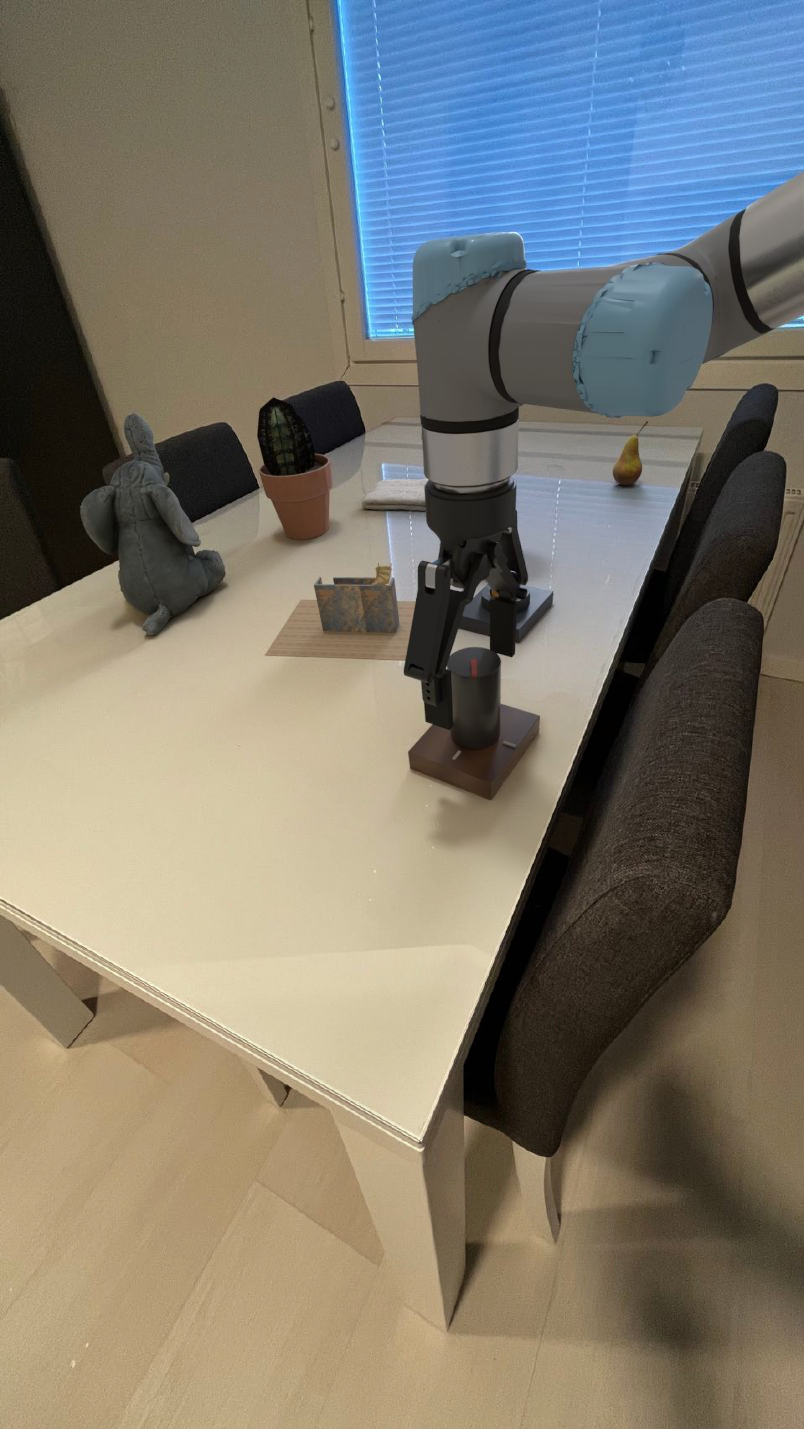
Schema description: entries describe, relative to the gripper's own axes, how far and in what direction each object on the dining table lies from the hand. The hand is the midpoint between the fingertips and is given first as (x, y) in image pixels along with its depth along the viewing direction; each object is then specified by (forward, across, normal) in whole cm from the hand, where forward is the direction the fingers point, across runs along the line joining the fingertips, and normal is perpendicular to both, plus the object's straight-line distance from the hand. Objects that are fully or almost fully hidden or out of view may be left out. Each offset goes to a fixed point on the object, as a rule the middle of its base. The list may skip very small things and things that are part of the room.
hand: (472, 686), depth 62 cm
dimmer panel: (+9, 0, 0) cm, 9 cm away
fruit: (+9, -87, -11) cm, 88 cm away
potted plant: (+10, -42, -61) cm, 74 cm away
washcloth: (+10, -63, -50) cm, 81 cm away
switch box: (+9, -28, -10) cm, 31 cm away
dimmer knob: (+6, 0, 0) cm, 6 cm away
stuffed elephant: (+10, -10, -64) cm, 65 cm away
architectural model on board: (+9, -16, -28) cm, 33 cm away
